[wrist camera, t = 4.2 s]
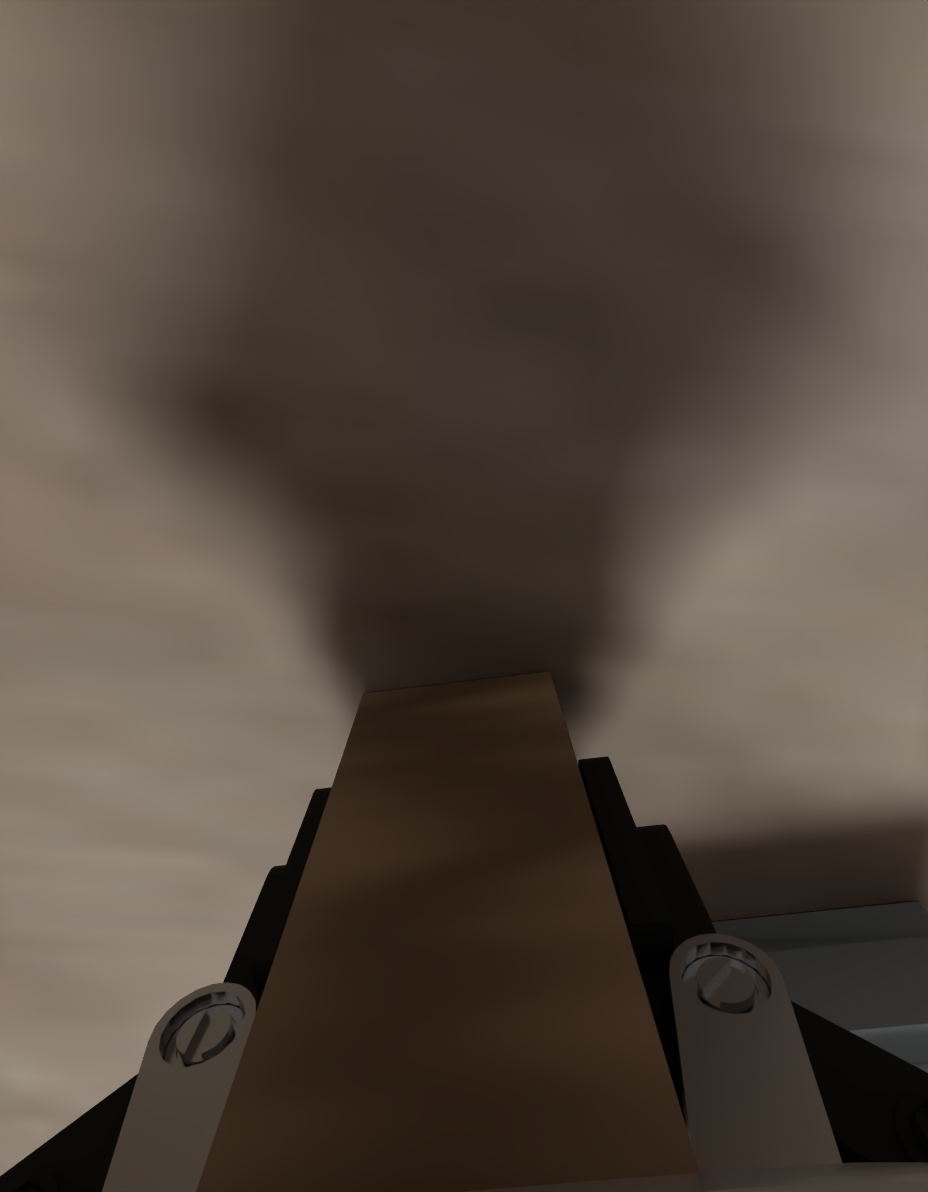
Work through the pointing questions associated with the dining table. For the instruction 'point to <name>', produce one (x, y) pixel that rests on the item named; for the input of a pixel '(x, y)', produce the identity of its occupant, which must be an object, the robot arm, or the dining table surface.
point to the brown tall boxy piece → (452, 973)
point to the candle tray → (854, 969)
